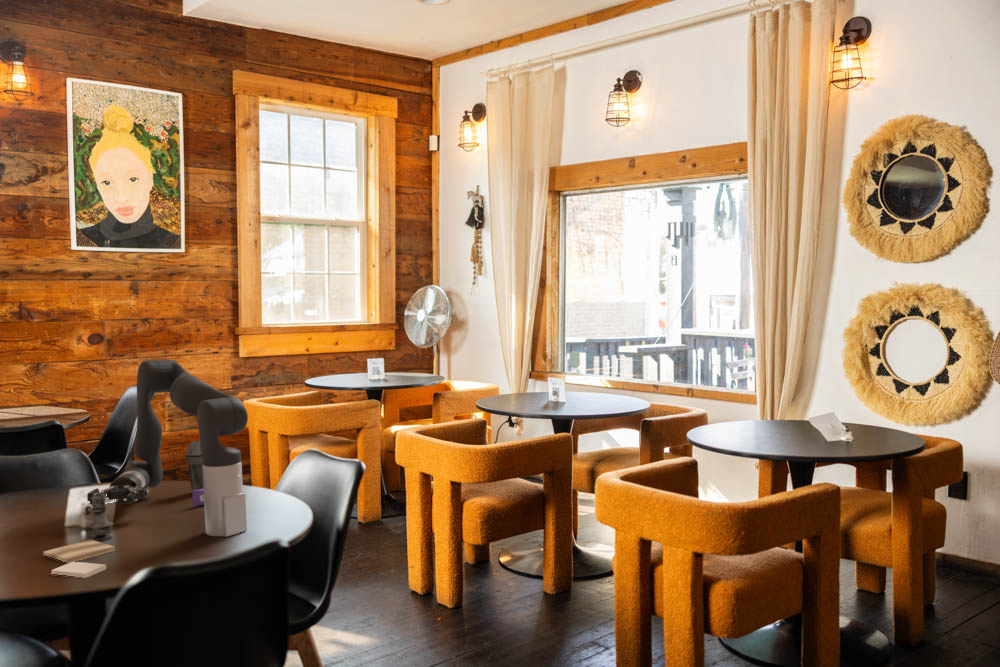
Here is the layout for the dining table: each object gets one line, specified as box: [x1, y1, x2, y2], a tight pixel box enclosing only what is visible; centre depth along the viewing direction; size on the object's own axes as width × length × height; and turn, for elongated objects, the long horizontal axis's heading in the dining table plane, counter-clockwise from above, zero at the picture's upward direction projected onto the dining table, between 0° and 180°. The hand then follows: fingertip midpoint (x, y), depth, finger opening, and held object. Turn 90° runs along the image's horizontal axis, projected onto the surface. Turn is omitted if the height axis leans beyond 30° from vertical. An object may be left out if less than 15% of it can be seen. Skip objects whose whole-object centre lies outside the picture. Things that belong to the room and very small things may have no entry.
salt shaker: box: [86, 490, 114, 543], centre depth 212 cm, size 6×6×12 cm
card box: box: [51, 561, 107, 579], centre depth 187 cm, size 9×6×2 cm, turn 72°
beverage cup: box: [185, 438, 204, 493], centre depth 257 cm, size 7×7×20 cm
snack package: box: [191, 489, 204, 508], centre depth 245 cm, size 12×2×5 cm, turn 139°
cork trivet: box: [43, 539, 116, 564], centre depth 201 cm, size 11×11×1 cm
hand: (110, 501), depth 221 cm, fingers open, 8 cm apart
